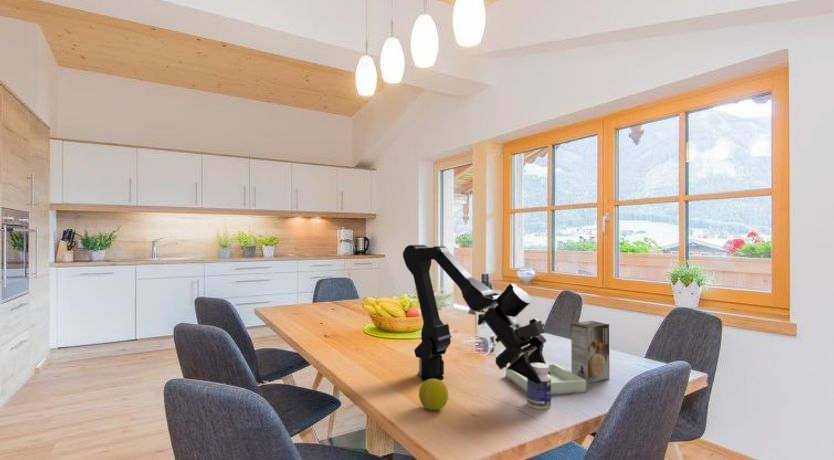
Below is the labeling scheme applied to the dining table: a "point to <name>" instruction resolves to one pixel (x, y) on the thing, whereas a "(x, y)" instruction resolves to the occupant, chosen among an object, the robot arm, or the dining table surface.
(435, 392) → the tennis ball
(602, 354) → the coffee box
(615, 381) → the dining table surface
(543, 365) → the pill bottle
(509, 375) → the tray
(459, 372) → the dining table surface
